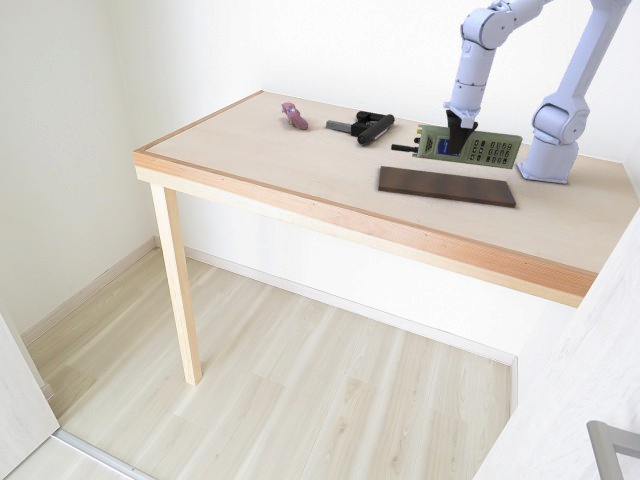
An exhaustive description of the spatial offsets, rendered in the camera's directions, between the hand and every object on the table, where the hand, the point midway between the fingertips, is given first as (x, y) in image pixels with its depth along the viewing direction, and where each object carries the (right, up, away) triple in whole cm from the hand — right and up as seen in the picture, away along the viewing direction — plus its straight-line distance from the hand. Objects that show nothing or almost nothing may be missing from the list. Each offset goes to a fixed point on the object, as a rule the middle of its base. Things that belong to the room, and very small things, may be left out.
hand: (453, 149), depth 86 cm
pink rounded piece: (-35, +13, +30) cm, 48 cm away
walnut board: (-1, -7, +5) cm, 9 cm away
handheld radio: (0, -2, +2) cm, 3 cm away
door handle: (-17, +12, +29) cm, 36 cm away
